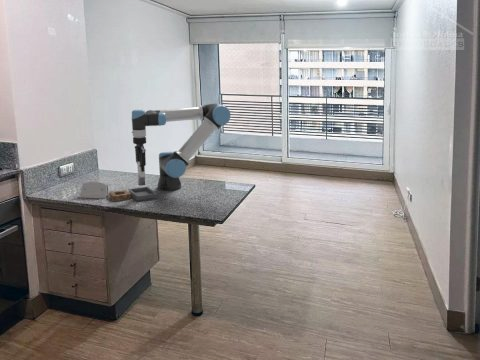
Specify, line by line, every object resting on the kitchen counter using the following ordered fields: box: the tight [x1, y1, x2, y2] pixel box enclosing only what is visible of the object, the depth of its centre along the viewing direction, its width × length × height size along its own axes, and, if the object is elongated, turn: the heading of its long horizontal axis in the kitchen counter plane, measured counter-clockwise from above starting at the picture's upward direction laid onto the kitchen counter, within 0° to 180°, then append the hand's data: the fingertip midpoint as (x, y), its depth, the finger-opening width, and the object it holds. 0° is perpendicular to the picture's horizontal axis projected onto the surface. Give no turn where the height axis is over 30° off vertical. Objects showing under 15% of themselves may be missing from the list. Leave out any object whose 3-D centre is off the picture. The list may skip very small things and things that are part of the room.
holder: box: [108, 189, 132, 202], centre depth 272 cm, size 10×10×3 cm
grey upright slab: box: [79, 180, 110, 199], centre depth 275 cm, size 17×5×10 cm, turn 85°
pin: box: [136, 161, 146, 187], centre depth 272 cm, size 4×4×14 cm
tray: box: [128, 186, 158, 202], centre depth 275 cm, size 12×18×3 cm, turn 29°
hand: (141, 175), depth 272 cm, fingers closed on pin, 4 cm apart
